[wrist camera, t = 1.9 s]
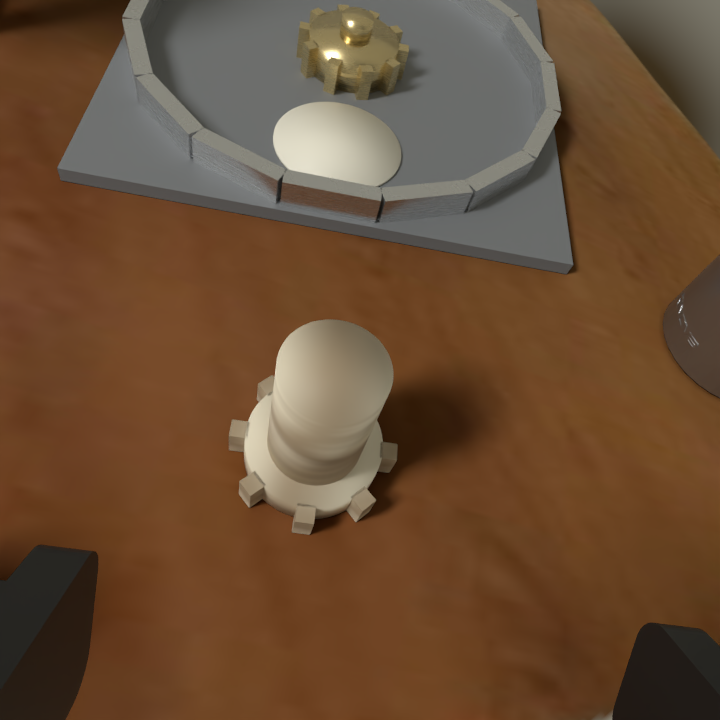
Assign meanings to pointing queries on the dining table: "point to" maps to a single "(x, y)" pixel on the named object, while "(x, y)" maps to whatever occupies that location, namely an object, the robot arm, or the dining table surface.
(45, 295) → the dining table surface
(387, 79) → the sun gear
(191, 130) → the ring gear
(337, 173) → the carrier plate
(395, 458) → the planet gear
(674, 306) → the robot arm
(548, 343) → the dining table surface
